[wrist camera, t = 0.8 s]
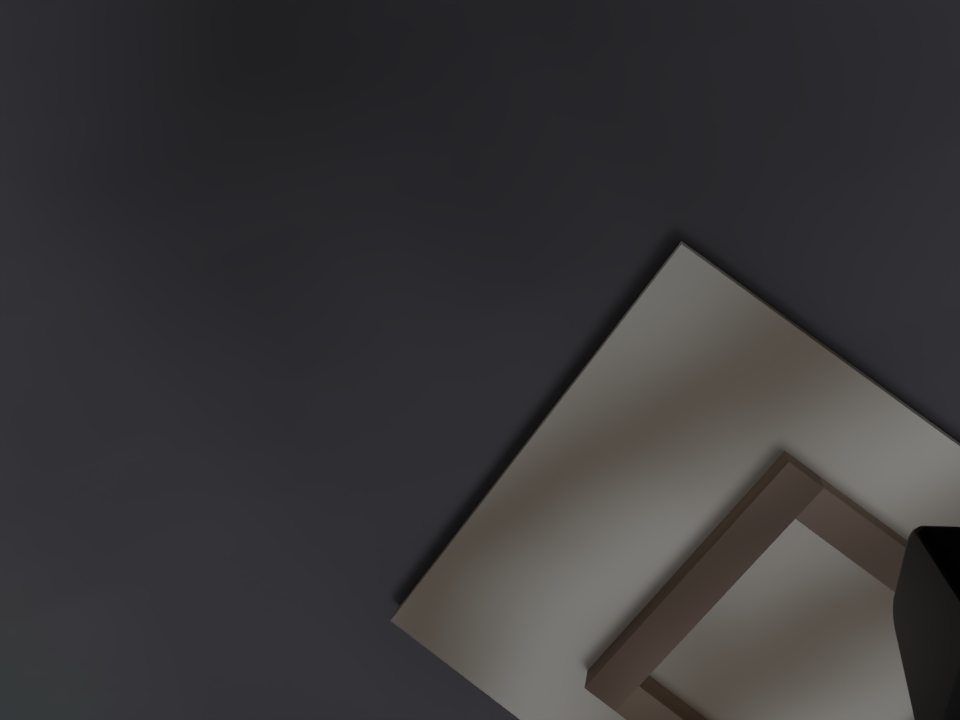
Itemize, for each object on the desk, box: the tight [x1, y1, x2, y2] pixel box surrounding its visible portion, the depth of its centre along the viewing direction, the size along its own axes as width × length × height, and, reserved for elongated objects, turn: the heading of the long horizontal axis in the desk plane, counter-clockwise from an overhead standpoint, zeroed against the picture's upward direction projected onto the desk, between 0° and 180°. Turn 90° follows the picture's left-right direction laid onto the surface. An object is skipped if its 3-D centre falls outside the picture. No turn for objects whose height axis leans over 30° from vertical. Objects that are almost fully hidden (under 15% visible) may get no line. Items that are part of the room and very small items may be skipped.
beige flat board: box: [391, 241, 960, 720], centre depth 22 cm, size 18×13×2 cm
